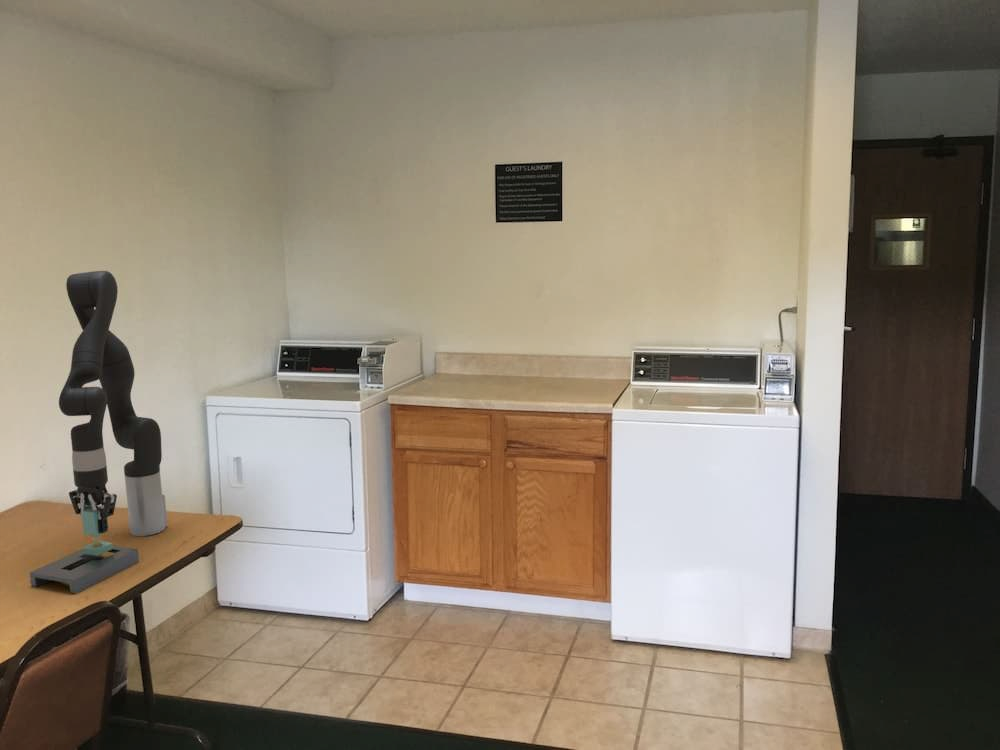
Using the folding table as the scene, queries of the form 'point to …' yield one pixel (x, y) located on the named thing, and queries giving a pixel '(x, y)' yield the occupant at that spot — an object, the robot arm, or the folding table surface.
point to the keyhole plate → (85, 568)
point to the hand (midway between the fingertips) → (96, 531)
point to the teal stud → (93, 534)
